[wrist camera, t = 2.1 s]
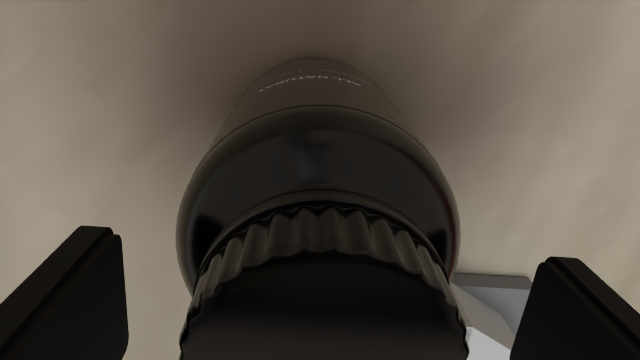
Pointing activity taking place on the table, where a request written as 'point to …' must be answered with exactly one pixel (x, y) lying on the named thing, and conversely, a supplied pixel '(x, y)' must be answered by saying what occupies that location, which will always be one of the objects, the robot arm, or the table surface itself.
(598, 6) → the table surface
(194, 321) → the supplement bottle
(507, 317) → the socket
